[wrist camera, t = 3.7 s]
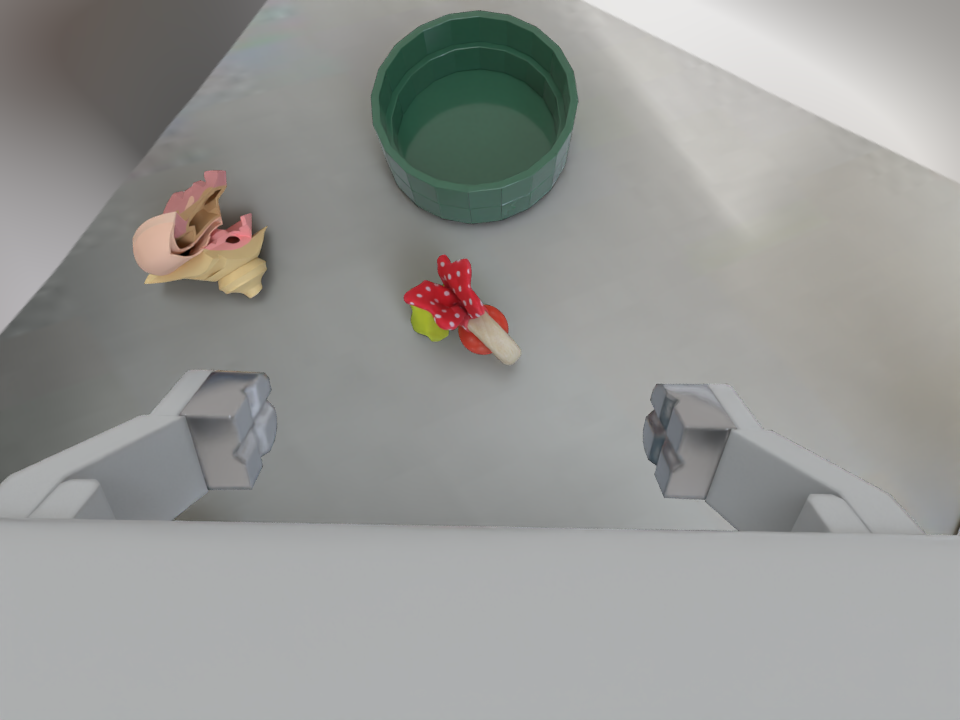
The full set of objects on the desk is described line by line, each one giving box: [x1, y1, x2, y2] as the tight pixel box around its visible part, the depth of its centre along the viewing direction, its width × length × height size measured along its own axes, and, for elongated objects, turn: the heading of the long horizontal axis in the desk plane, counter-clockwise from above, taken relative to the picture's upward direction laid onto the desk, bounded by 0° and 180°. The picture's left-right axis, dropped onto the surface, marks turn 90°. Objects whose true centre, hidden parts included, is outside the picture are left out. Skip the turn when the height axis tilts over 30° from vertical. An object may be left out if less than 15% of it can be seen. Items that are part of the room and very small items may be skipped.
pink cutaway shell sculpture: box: [133, 170, 267, 298], centre depth 41 cm, size 9×10×10 cm
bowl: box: [371, 10, 578, 224], centre depth 42 cm, size 15×15×6 cm
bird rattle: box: [404, 254, 521, 365], centre depth 37 cm, size 6×11×9 cm
